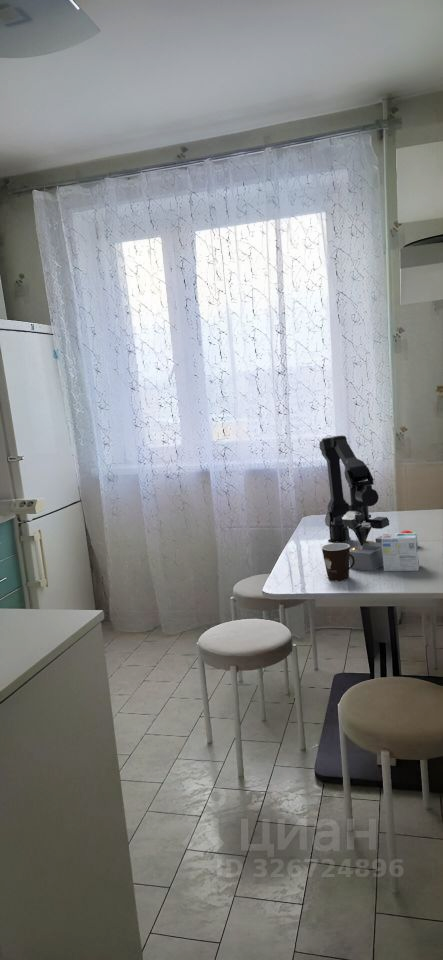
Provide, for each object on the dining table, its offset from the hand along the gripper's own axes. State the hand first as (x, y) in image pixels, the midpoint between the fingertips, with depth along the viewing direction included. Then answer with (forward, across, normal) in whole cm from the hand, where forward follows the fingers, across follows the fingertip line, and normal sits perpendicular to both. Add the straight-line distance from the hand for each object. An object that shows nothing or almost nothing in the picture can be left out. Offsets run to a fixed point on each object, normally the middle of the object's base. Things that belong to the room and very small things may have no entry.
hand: (362, 545), depth 219 cm
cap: (+4, +9, +15) cm, 18 cm away
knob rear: (+2, +6, 0) cm, 6 cm away
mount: (+3, +8, -4) cm, 10 cm away
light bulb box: (+4, +19, -9) cm, 21 cm away
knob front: (+2, +6, -9) cm, 11 cm away
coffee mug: (+4, +7, -26) cm, 27 cm away
